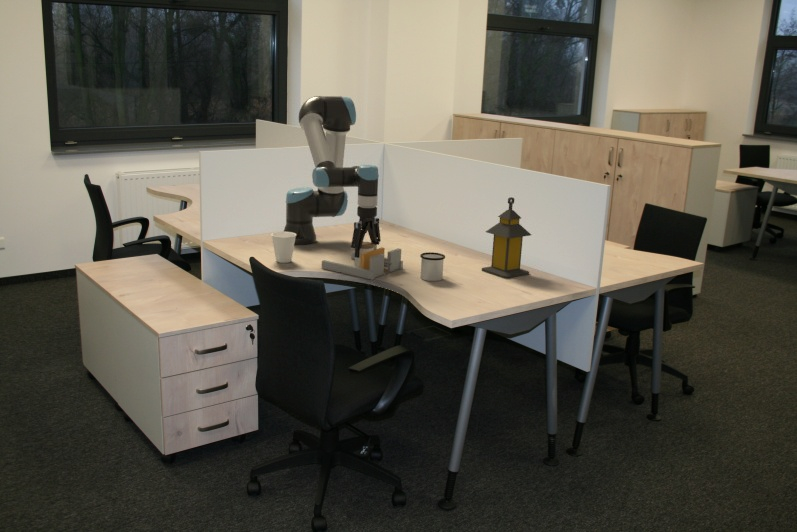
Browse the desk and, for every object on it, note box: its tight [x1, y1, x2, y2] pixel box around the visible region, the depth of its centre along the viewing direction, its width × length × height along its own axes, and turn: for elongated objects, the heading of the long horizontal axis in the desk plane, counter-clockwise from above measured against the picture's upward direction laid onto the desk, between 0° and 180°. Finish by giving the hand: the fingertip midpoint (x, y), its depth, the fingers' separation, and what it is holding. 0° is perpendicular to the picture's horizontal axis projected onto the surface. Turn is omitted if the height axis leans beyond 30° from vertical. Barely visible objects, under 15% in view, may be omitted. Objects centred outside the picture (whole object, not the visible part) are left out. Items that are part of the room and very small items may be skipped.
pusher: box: [361, 247, 392, 270], centre depth 287 cm, size 14×9×7 cm, turn 147°
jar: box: [354, 241, 374, 268], centre depth 291 cm, size 7×7×10 cm
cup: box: [270, 231, 296, 264], centre depth 297 cm, size 10×10×11 cm
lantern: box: [481, 197, 532, 280], centre depth 292 cm, size 14×14×30 cm
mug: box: [419, 251, 446, 282], centre depth 283 cm, size 12×10×9 cm
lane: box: [321, 248, 404, 281], centre depth 291 cm, size 21×24×8 cm
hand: (365, 262), depth 291 cm, fingers open, 9 cm apart
